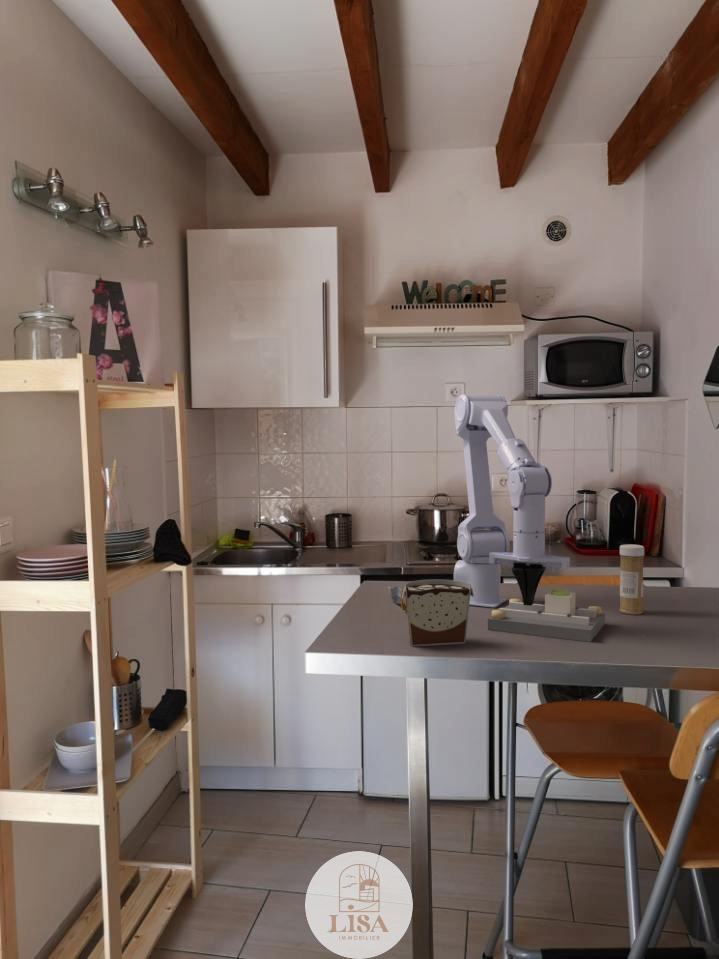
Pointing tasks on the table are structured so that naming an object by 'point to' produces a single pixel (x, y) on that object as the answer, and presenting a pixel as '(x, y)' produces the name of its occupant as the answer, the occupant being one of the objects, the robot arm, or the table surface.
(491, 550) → the robot arm
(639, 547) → the sprinkles bottle
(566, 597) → the block
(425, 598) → the food container
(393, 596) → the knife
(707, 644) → the table surface
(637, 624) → the table surface
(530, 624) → the levelling base
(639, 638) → the table surface
